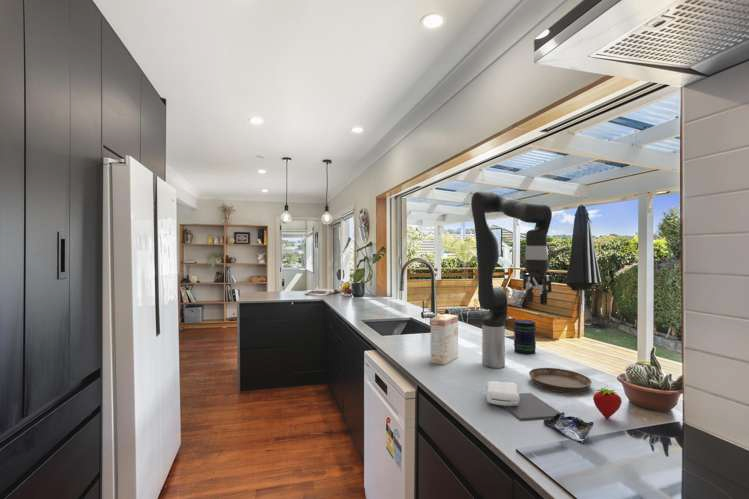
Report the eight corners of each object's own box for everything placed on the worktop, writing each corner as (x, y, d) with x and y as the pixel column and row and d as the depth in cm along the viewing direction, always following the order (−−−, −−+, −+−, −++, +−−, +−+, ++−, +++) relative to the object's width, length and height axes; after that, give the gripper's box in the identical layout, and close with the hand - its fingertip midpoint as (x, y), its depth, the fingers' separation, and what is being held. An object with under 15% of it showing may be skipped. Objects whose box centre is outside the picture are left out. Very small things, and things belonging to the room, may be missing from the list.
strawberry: (626, 423, 108) (626, 387, 108) (599, 422, 108) (599, 387, 108) (614, 414, 114) (614, 380, 114) (588, 413, 114) (588, 380, 114)
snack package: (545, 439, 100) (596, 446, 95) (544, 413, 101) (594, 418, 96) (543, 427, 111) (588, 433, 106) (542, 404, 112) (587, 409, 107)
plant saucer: (605, 393, 132) (605, 383, 132) (553, 398, 127) (553, 388, 127) (564, 374, 152) (564, 366, 152) (517, 378, 147) (517, 369, 147)
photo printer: (518, 382, 127) (520, 395, 115) (518, 395, 127) (520, 410, 115) (486, 379, 130) (485, 391, 119) (486, 391, 130) (484, 405, 119)
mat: (491, 396, 127) (491, 395, 127) (530, 394, 130) (530, 392, 130) (520, 420, 110) (520, 418, 110) (564, 417, 112) (564, 415, 112)
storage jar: (516, 354, 181) (516, 322, 181) (512, 349, 190) (512, 319, 190) (538, 355, 179) (538, 323, 179) (533, 349, 189) (533, 319, 189)
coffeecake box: (444, 354, 179) (444, 313, 180) (458, 357, 175) (458, 315, 175) (429, 362, 167) (429, 318, 167) (444, 365, 163) (444, 319, 163)
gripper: (558, 258, 132) (558, 305, 132) (534, 258, 146) (534, 300, 146) (538, 258, 131) (538, 306, 131) (516, 258, 145) (516, 300, 145)
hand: (536, 302), depth 138 cm, fingers open, 8 cm apart
